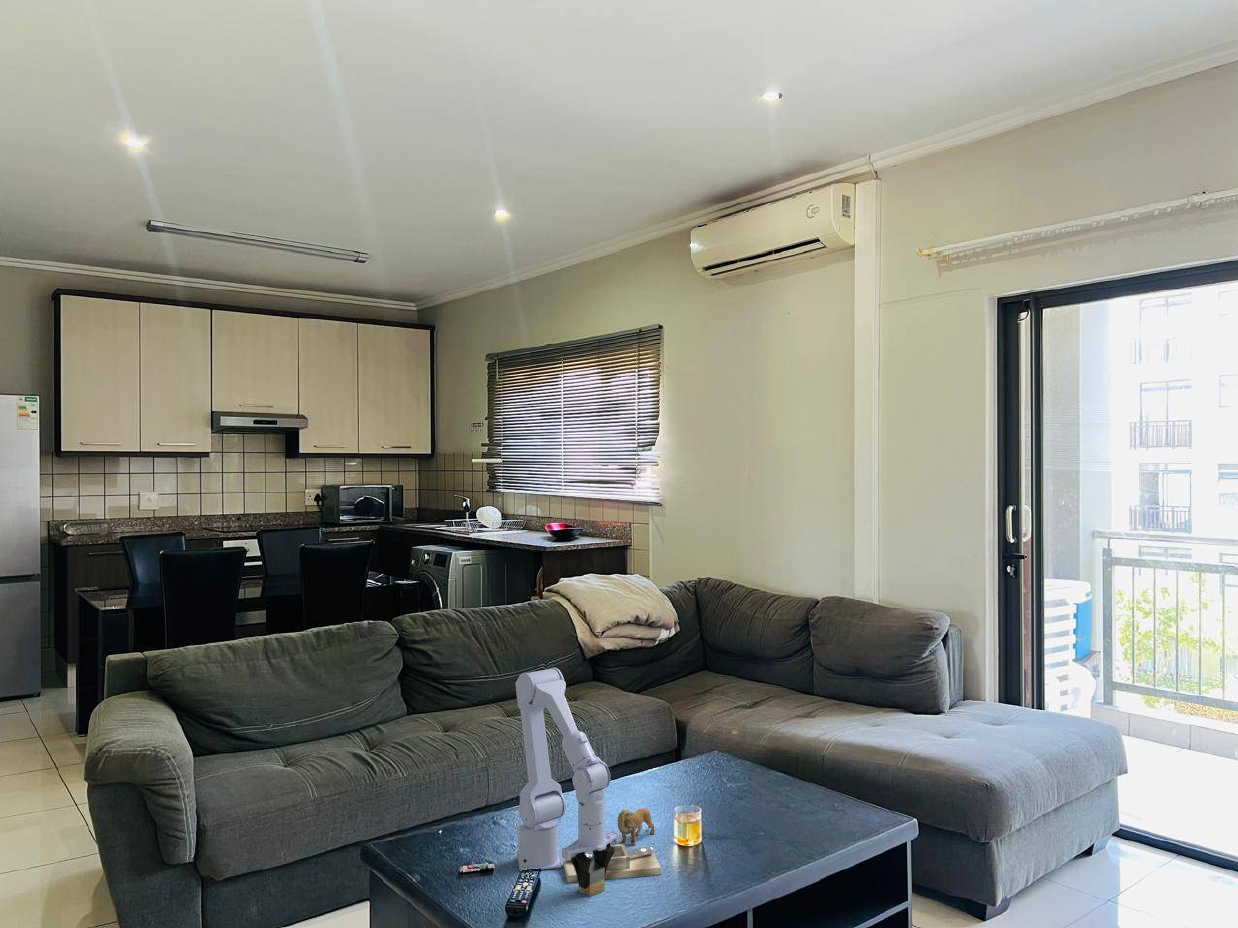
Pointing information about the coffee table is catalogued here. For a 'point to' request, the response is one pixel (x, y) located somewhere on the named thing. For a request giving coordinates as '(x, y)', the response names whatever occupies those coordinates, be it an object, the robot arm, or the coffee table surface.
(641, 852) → the shaft right
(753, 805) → the coffee table surface
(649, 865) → the shaft board
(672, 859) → the coffee table surface
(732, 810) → the coffee table surface
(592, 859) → the shaft left
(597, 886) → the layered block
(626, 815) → the lion figurine
